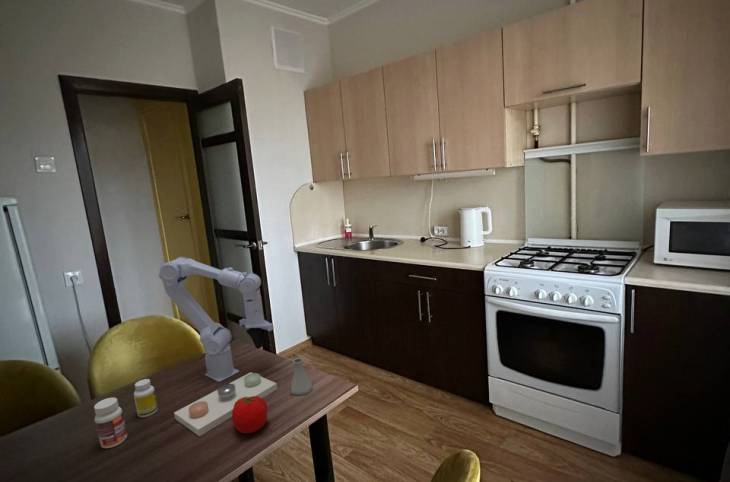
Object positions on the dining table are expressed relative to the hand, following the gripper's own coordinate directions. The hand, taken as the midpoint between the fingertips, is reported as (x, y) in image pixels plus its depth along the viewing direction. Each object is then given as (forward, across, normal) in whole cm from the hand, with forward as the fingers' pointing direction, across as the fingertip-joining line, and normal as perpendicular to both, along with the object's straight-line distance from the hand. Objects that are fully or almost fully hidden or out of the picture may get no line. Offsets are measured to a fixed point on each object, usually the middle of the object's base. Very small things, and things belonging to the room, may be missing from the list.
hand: (259, 347), depth 131 cm
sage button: (+7, +6, -9) cm, 13 cm away
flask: (+9, +21, -3) cm, 23 cm away
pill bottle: (+9, -11, -44) cm, 46 cm away
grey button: (+6, +5, -18) cm, 20 cm away
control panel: (+9, +4, -18) cm, 21 cm away
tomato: (+9, +20, -24) cm, 32 cm away
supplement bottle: (+9, -16, -32) cm, 37 cm away
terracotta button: (+7, +3, -27) cm, 28 cm away
